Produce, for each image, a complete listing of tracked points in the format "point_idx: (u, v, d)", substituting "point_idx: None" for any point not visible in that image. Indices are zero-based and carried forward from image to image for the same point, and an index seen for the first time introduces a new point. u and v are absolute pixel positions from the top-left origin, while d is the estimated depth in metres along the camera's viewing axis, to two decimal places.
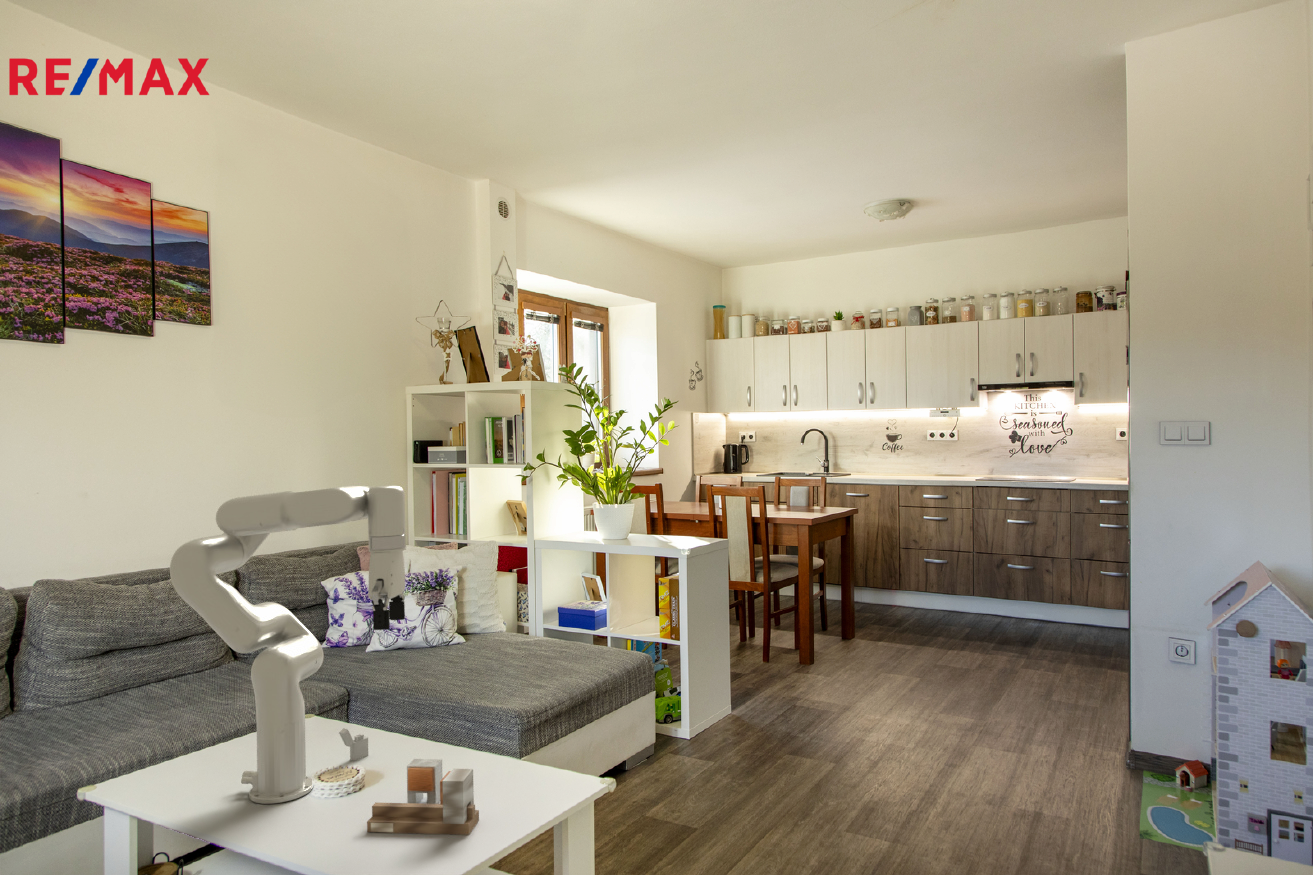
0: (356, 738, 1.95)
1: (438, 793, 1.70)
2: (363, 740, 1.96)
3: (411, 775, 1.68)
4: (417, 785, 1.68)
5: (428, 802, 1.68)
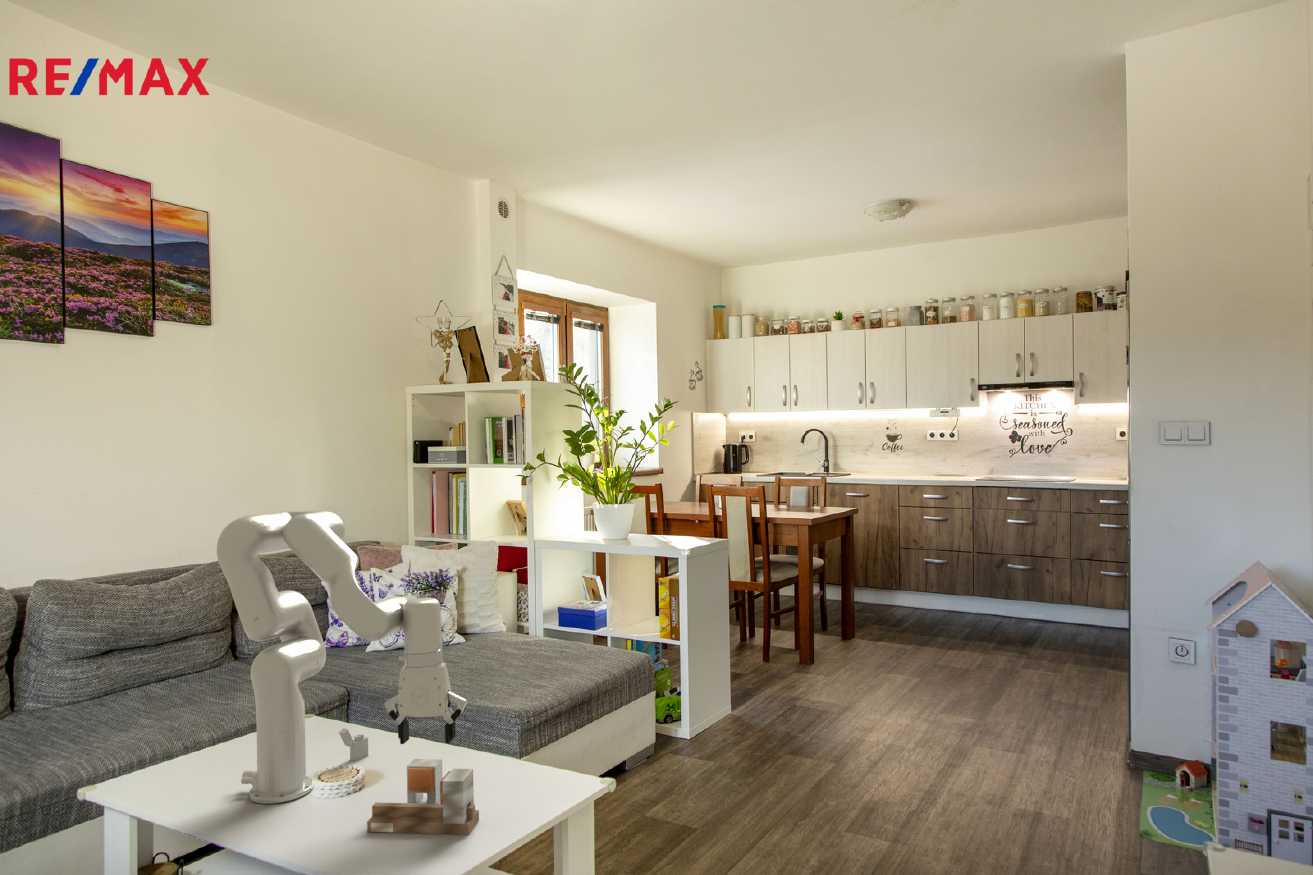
0: (356, 738, 1.95)
1: (438, 793, 1.70)
2: (363, 740, 1.96)
3: (411, 775, 1.68)
4: (417, 785, 1.68)
5: (428, 802, 1.68)
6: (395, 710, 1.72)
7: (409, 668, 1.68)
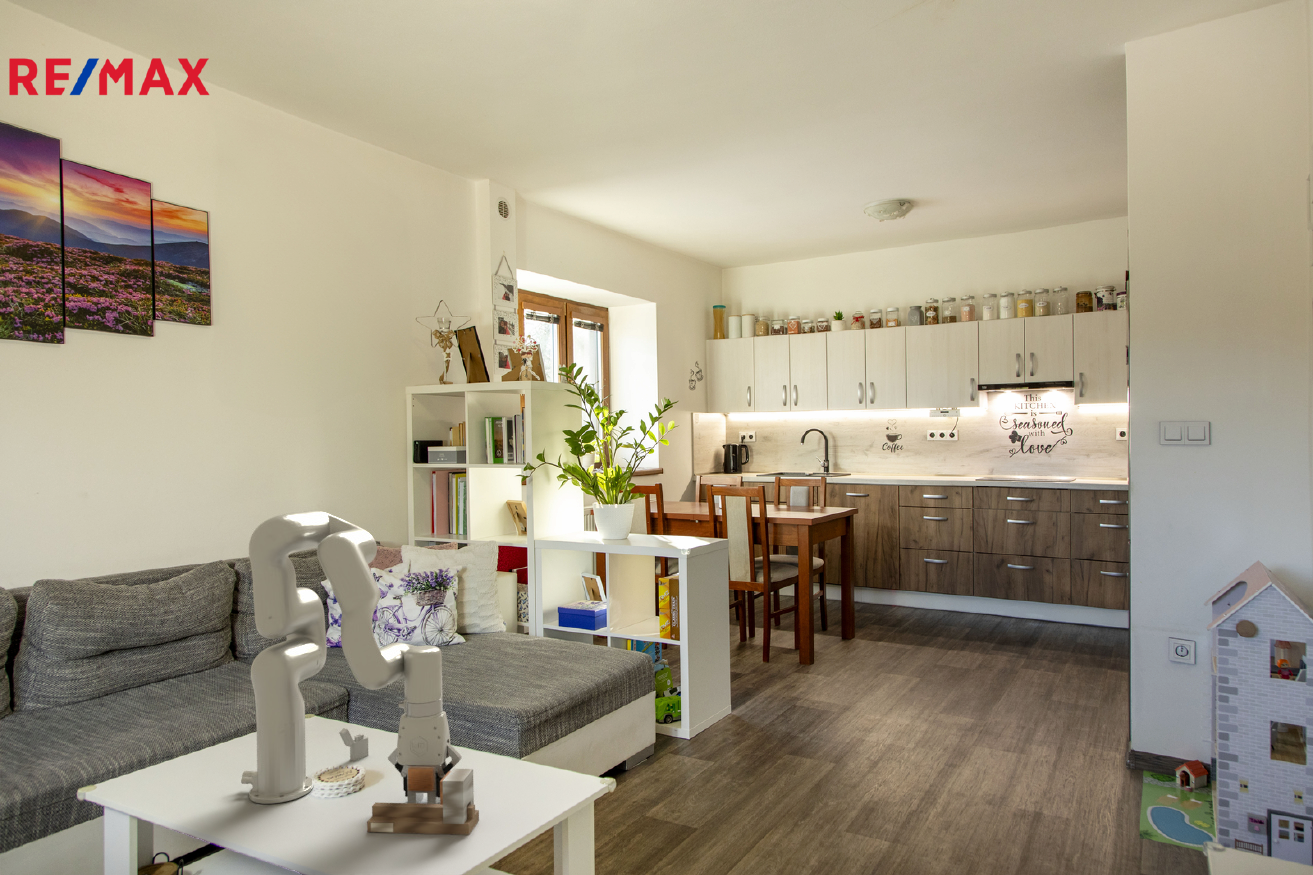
0: (356, 738, 1.95)
1: None
2: (363, 740, 1.96)
3: (411, 775, 1.68)
4: (417, 785, 1.68)
5: (428, 802, 1.68)
6: None
7: (409, 717, 1.68)
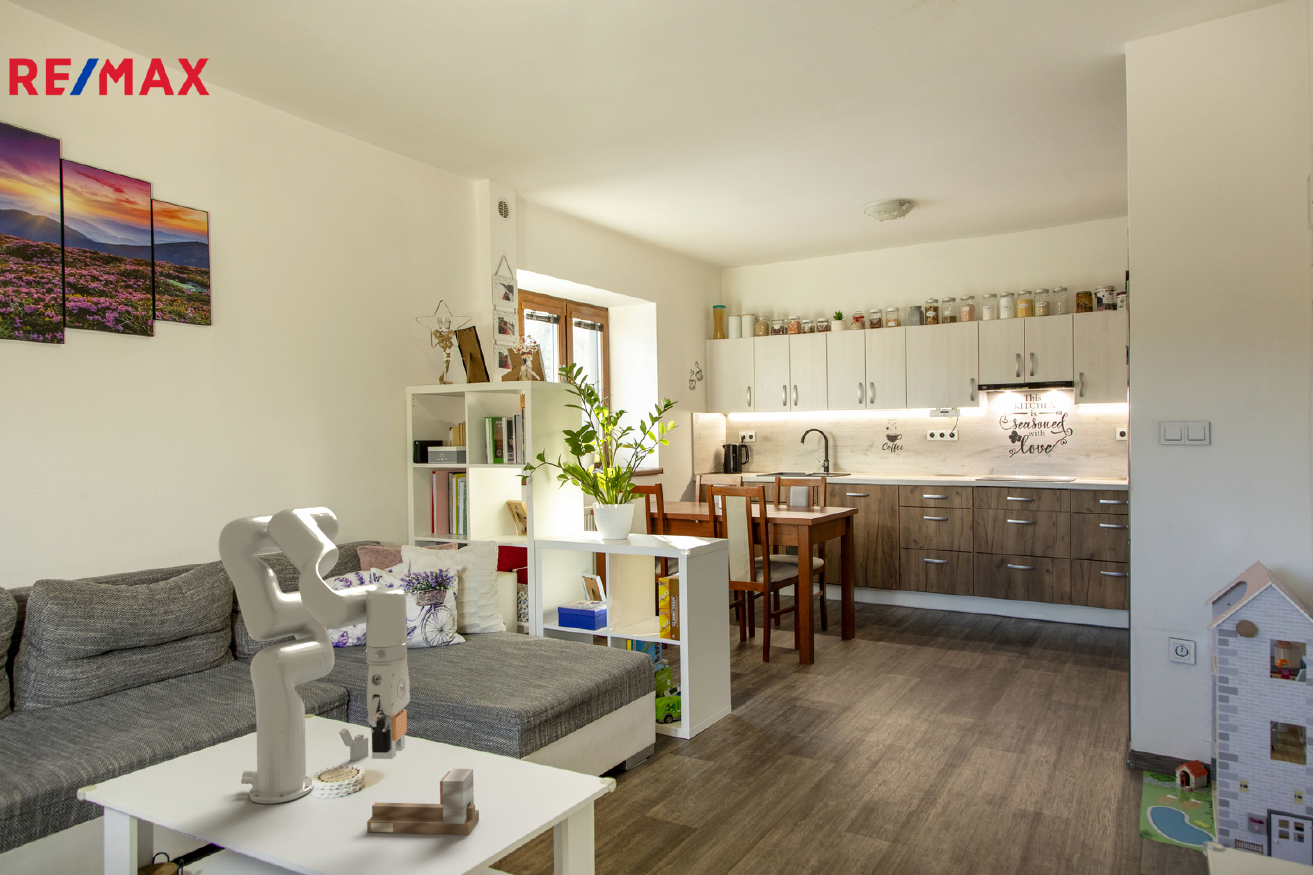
0: (356, 738, 1.95)
1: None
2: (363, 740, 1.96)
3: (397, 723, 1.58)
4: (400, 731, 1.60)
5: (401, 746, 1.62)
6: None
7: (399, 660, 1.58)
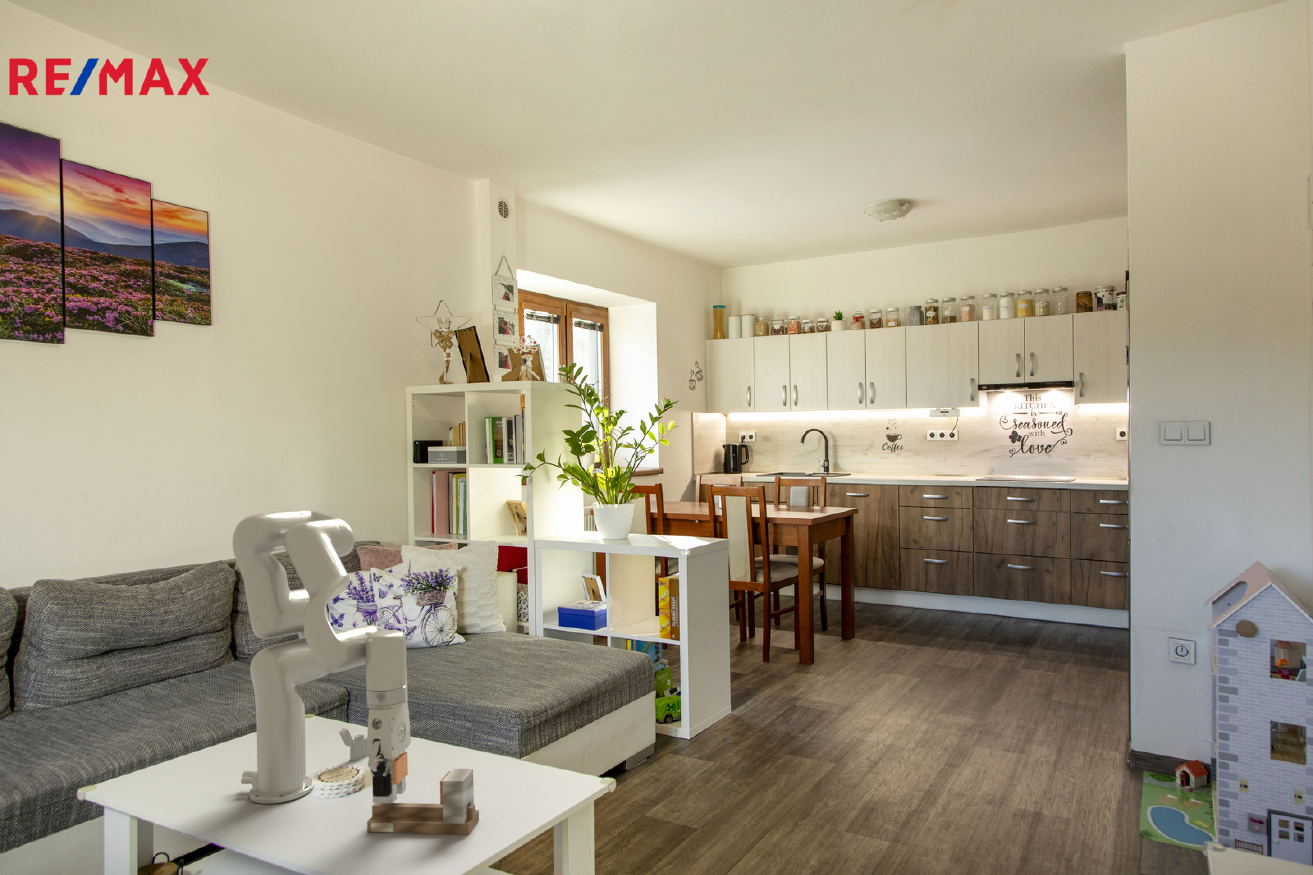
0: (356, 738, 1.95)
1: None
2: (363, 740, 1.96)
3: (398, 766, 1.58)
4: (401, 774, 1.59)
5: (402, 789, 1.61)
6: None
7: (399, 704, 1.58)
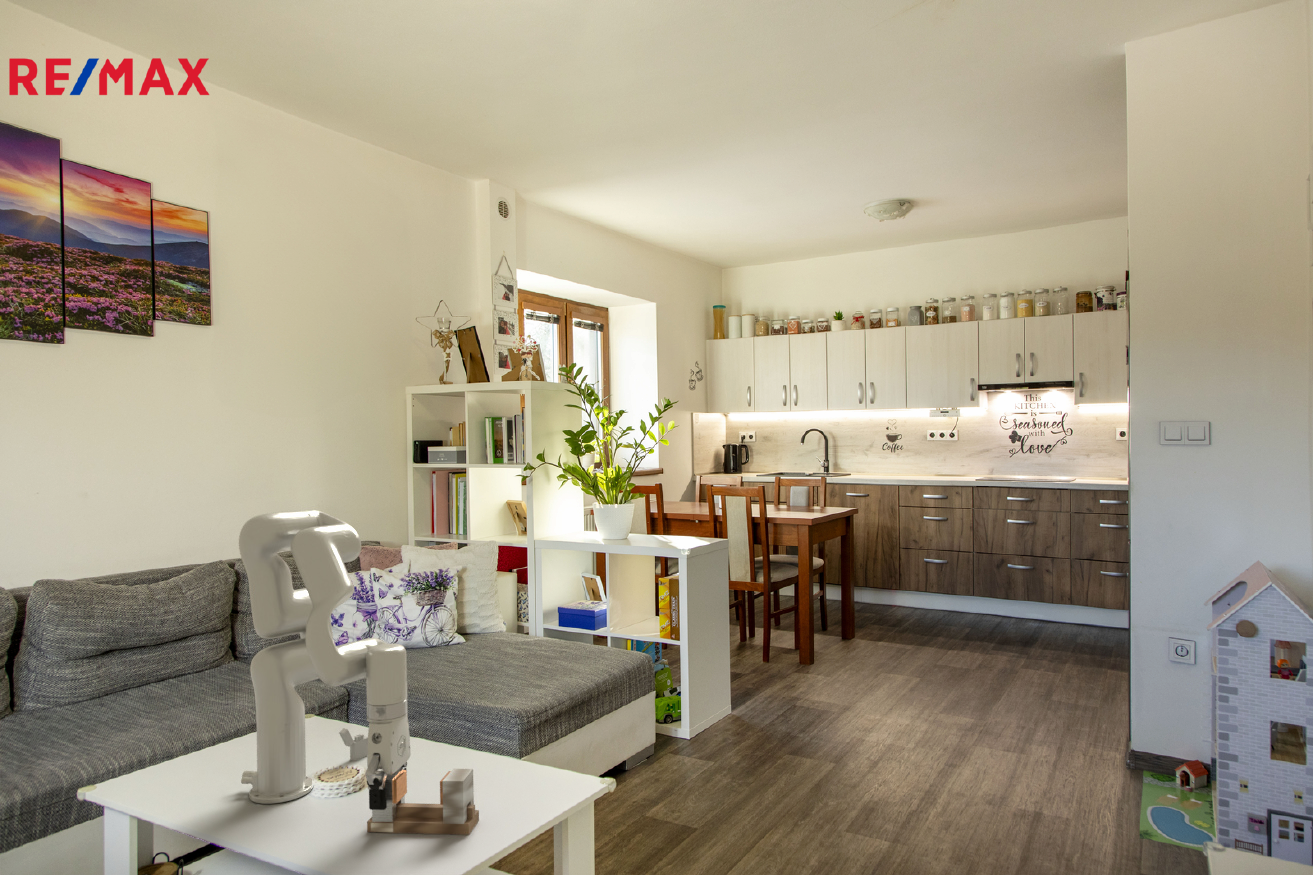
0: (356, 738, 1.95)
1: None
2: (363, 740, 1.96)
3: (398, 785, 1.58)
4: (400, 793, 1.59)
5: None
6: None
7: (399, 718, 1.58)
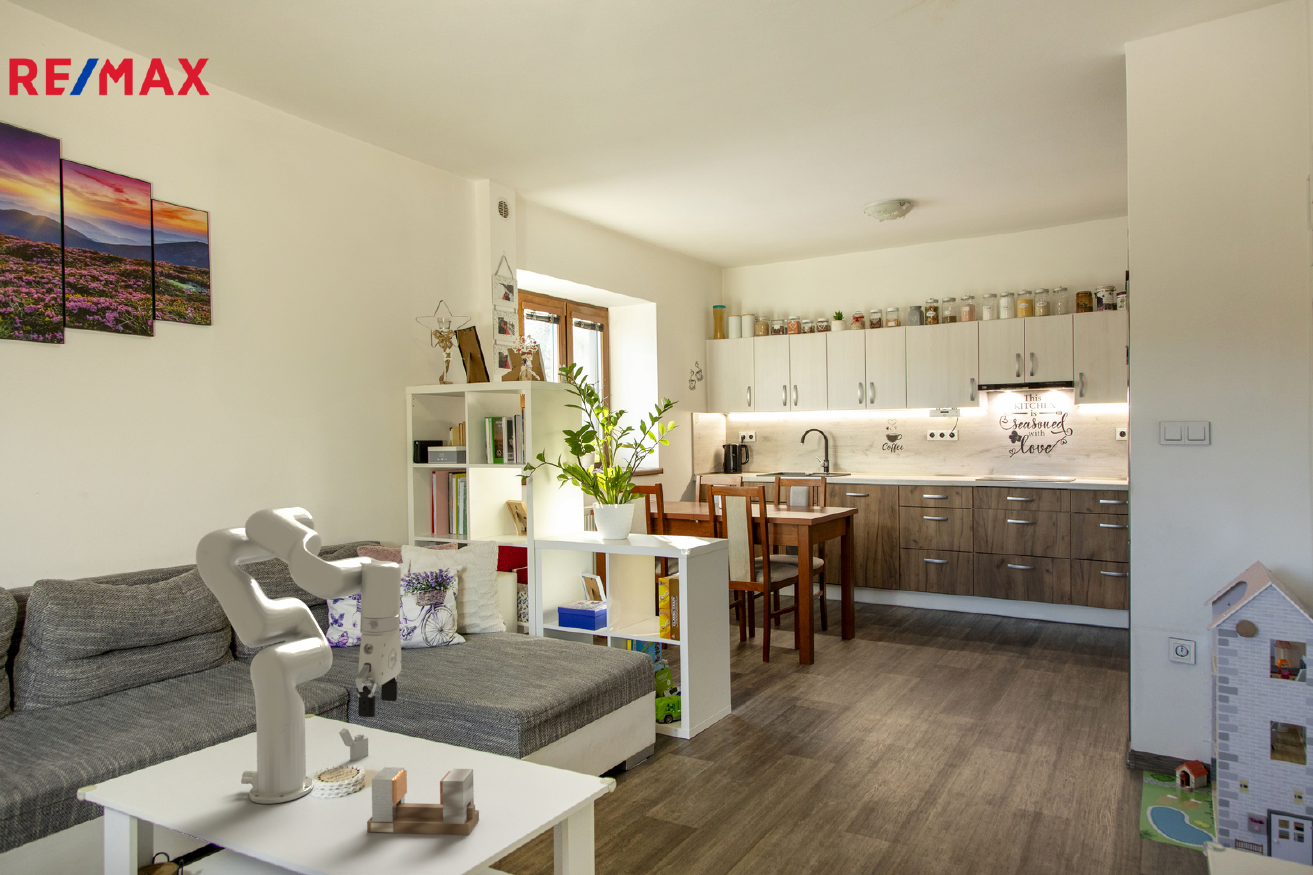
0: (356, 738, 1.95)
1: None
2: (363, 740, 1.96)
3: (398, 785, 1.58)
4: (400, 793, 1.59)
5: None
6: None
7: (391, 632, 1.64)
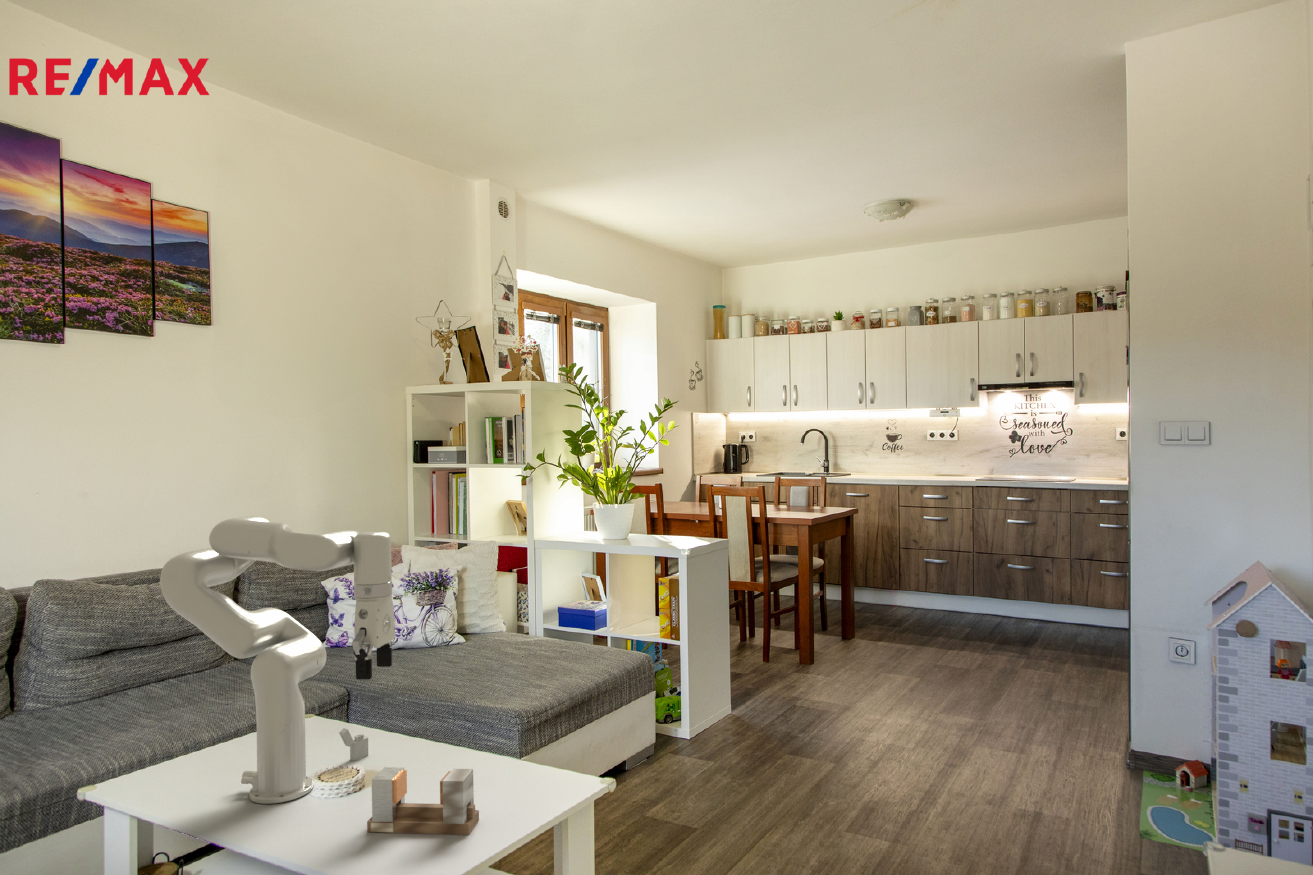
0: (356, 738, 1.95)
1: None
2: (363, 740, 1.96)
3: (398, 785, 1.58)
4: (400, 793, 1.59)
5: None
6: None
7: (384, 597, 1.71)
